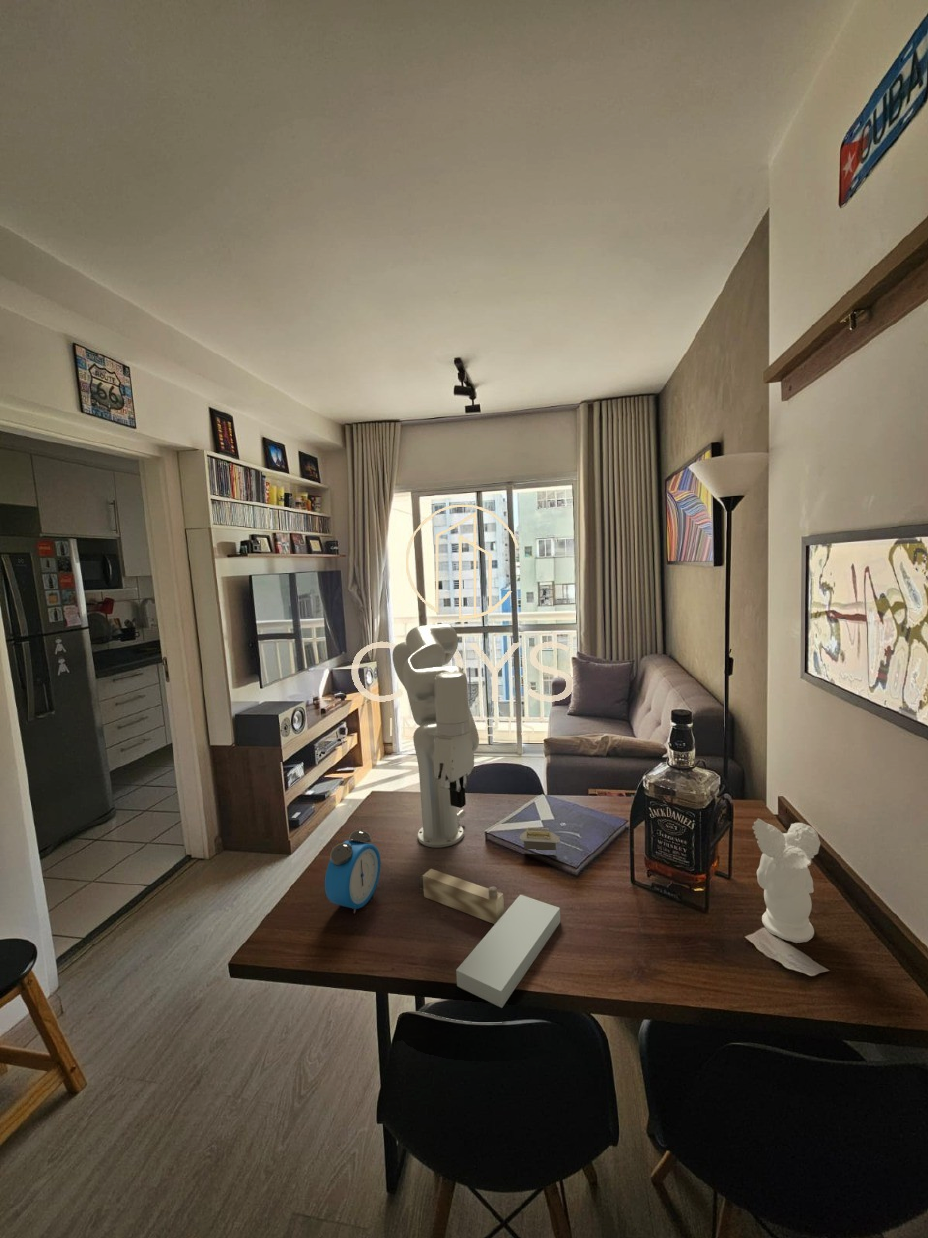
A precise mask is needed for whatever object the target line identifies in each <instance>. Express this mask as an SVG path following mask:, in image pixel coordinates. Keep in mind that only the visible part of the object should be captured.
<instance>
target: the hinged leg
mask: <svg viewBox="0 0 928 1238" xmlns="http://www.w3.org/2000/svg"><path fill="white" fill-rule="evenodd" d="M418 887H419V889H421V890H423V897H424V898H426V899H429V900H431V901H434V902H437V903H440V904H441V905H444V906H447V907H449V908H452V909H454V910H457V911H460V912H462V913H465V914H467V915H470V916H472V917H475V918H478V919H481V920H483V921H485V922H488V923H491V924H493V925H495V924H496V923H497V921H498V920H499V919H500V918H501V917H502V916H503V914H504V913H505V906H504V905H505V904H504V902H505V901H504V893H503V892H499V891H498V887H496V886H489V887H484V886H482V885H479V884H477V883H473V882H471V881H468V880H464V879H463V878H459V877H456V876H453V875H450V874H447V873H444V872H441V871H438V870H436V869H433V868H430V869H429V870H427V871H426V872H425V873H423V874H422V875H421V876H420V878H419V881H418Z"/></svg>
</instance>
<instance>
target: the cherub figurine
mask: <svg viewBox="0 0 928 1238" xmlns="http://www.w3.org/2000/svg"><path fill="white" fill-rule="evenodd" d="M752 830H754V831H753V834H754V835H755V839H757V841H756V843H757V845H758V847H759V849H760V852H761V853H762V854H761V856H760V859H759V860H760V861H759V866H758V868H757V869H756V876H757V879H756V880H757V883H758V885H759V887H760V888H762V889H763V898H764V904H765V906H766V909H765V910H766V911H765V912H764V913H763V914H762V916H761V921H762V924H763V927H765V929H766V931H767V932H768V933H770V934H772V935H774V936H777V937H778V938H779V939H782V940H785V941H787V942H792V943H795V944H798V943H799V944H800V943H807V942H809V941H810V940H811V939H813V937H814V936H815V929H814V927H813V925H812V923H811V922H810V918H809V917H810V914H811V912H812V905H813V904H812V898H811V895H810V894H812V893H814V891H815V890H814V881H813V878H812V875H811V871H810V868H808V866H811V864H812V859H814V858H815V856H816V855H818V854H819V850H820V847H821V841H820V838H819V834H818V831H816V829H815V828H814V827H812V826H811V825H808V824H807V823H806V824H805V823H803V822H795V823H790V827H789V828H788V830H787V832H785V833H784V832H782V831H781V830H780V829H779V828H777V827H776V826H774V825H772V824H771V823H770V824H769V823H767V822H765V821H764V820H762V819H761V818H759V817H758V818H757V819H756V820H755V821H754V822H753V825H752Z"/></svg>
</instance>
